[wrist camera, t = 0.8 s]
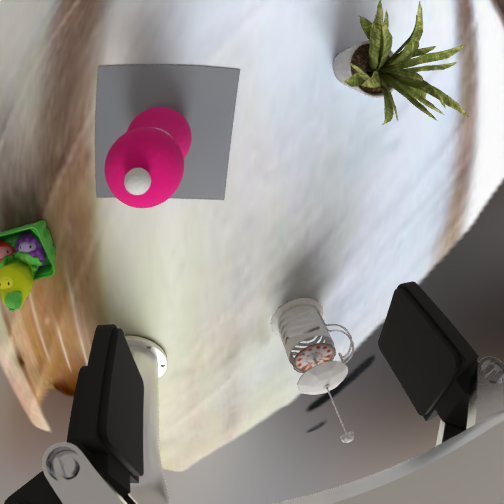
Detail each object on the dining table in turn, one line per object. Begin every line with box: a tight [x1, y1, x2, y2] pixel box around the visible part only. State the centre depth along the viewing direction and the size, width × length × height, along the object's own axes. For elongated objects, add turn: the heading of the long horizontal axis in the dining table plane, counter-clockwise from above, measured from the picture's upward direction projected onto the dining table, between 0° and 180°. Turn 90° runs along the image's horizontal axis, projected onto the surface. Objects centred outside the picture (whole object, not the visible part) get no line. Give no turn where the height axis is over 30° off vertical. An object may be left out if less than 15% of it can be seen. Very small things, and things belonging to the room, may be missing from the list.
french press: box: [270, 298, 354, 443], centre depth 45 cm, size 10×12×25 cm
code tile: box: [95, 65, 240, 200], centre depth 35 cm, size 17×17×1 cm
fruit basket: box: [0, 220, 56, 312], centre depth 34 cm, size 11×9×11 cm
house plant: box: [333, 1, 469, 125], centre depth 28 cm, size 14×14×16 cm
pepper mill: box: [104, 107, 192, 208], centre depth 27 cm, size 7×7×20 cm
